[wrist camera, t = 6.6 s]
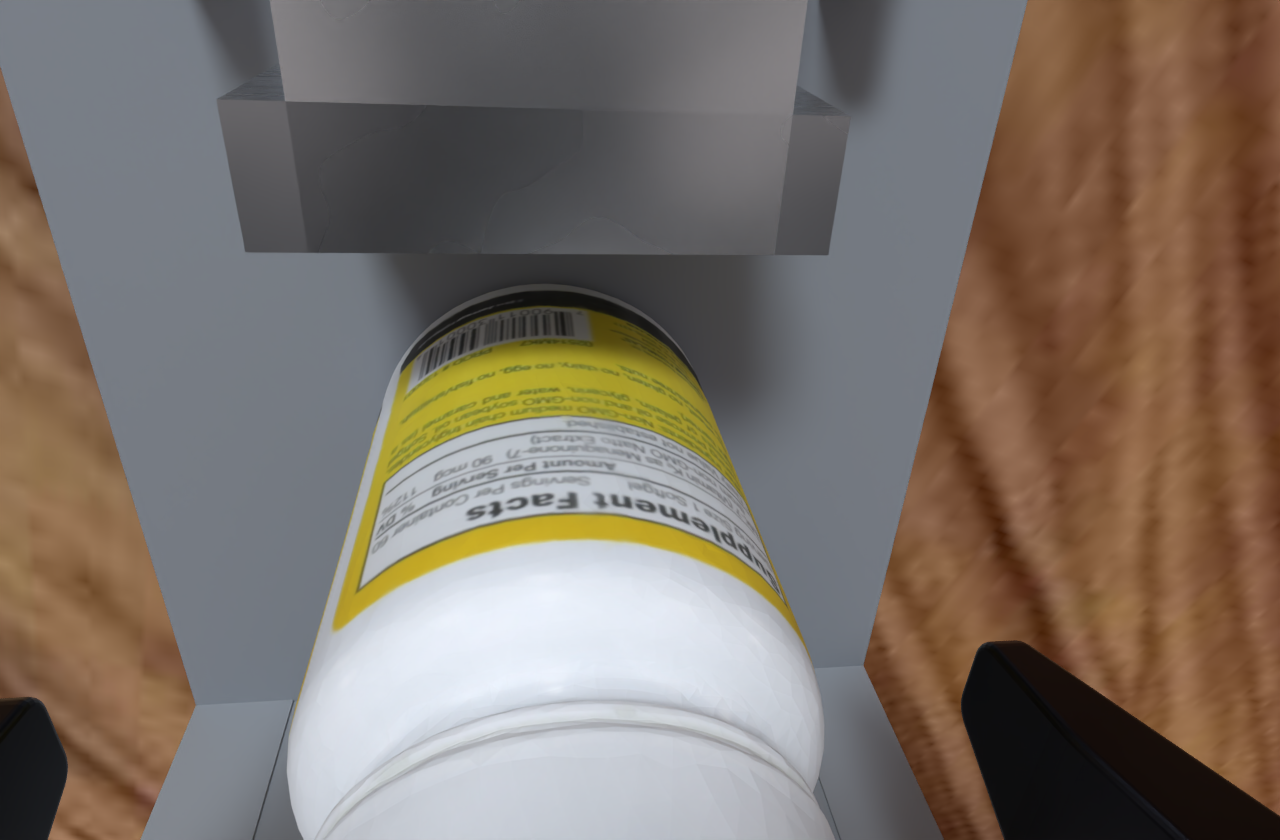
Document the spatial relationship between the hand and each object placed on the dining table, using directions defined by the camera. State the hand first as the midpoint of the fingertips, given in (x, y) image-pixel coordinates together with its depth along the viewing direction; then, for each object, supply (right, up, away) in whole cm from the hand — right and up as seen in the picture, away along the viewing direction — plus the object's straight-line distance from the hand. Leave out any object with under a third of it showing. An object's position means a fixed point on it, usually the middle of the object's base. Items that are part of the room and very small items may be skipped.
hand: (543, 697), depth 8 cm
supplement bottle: (0, +3, +4) cm, 5 cm away
